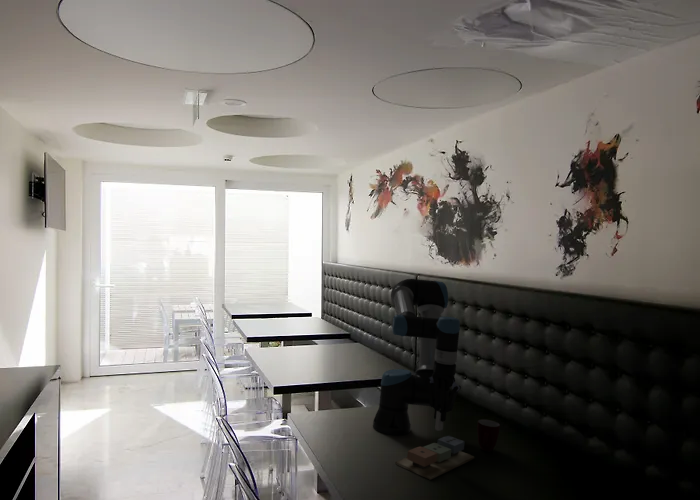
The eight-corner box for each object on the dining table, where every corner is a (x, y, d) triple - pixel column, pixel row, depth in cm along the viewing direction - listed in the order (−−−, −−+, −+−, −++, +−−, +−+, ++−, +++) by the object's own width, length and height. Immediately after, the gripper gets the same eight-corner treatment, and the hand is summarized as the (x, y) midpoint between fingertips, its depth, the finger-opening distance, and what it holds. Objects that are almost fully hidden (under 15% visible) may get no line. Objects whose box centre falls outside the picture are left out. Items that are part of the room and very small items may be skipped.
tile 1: (407, 459, 166) (407, 450, 166) (419, 454, 171) (419, 446, 171) (424, 466, 161) (425, 458, 161) (436, 461, 167) (437, 453, 167)
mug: (497, 458, 181) (500, 430, 181) (474, 453, 183) (477, 426, 183) (497, 447, 191) (499, 421, 191) (475, 443, 193) (477, 417, 193)
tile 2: (422, 455, 173) (423, 446, 173) (433, 450, 178) (434, 442, 178) (439, 462, 168) (440, 453, 168) (450, 457, 173) (451, 449, 173)
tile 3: (436, 447, 179) (437, 439, 179) (447, 442, 185) (447, 435, 185) (453, 453, 175) (454, 445, 175) (464, 449, 180) (464, 441, 180)
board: (395, 464, 168) (396, 456, 168) (440, 445, 188) (441, 438, 188) (430, 479, 158) (431, 471, 158) (474, 458, 178) (474, 451, 178)
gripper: (423, 358, 175) (417, 425, 175) (455, 367, 166) (449, 438, 166) (435, 356, 180) (429, 421, 180) (467, 365, 171) (460, 433, 172)
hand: (438, 429), depth 173 cm, fingers closed
